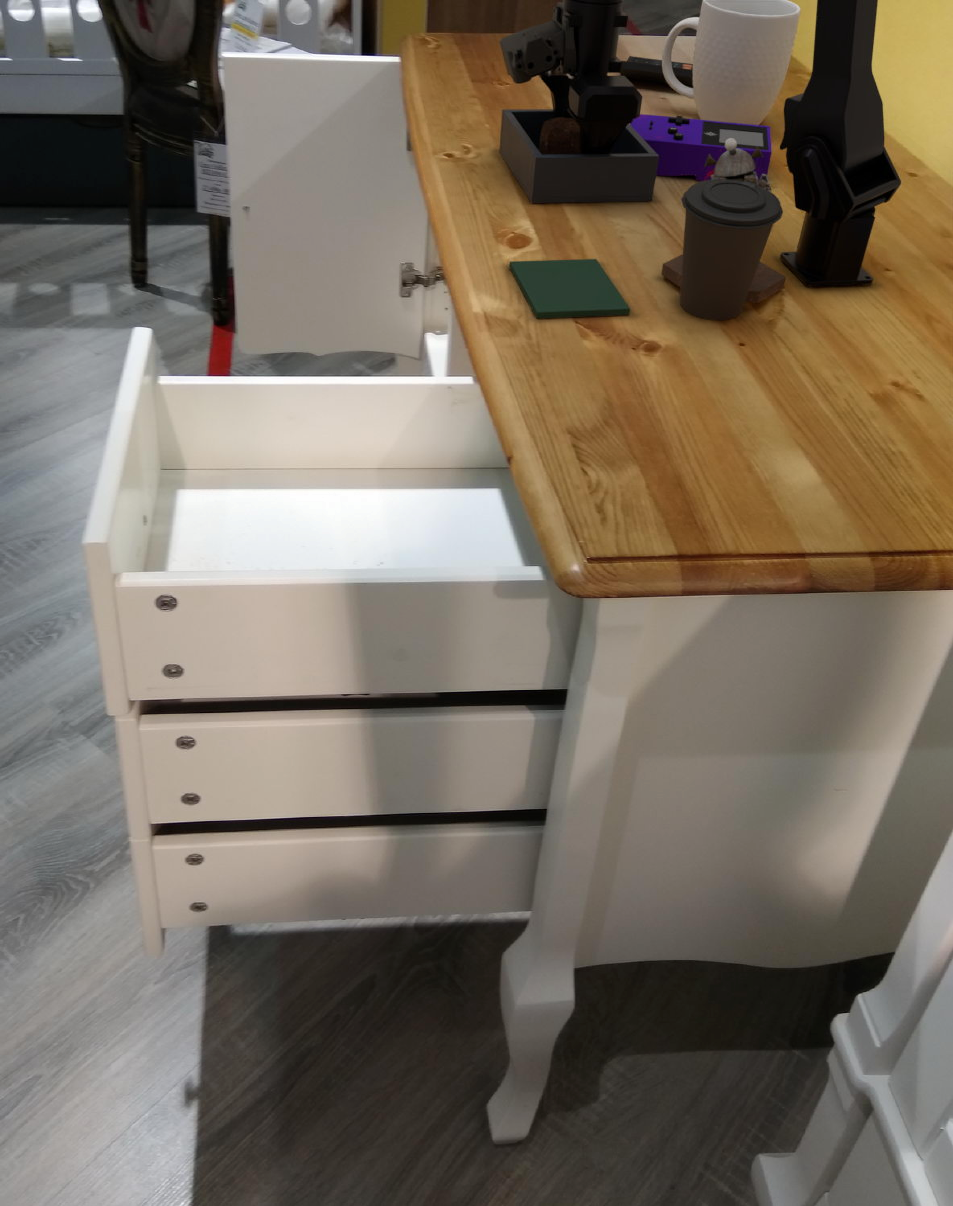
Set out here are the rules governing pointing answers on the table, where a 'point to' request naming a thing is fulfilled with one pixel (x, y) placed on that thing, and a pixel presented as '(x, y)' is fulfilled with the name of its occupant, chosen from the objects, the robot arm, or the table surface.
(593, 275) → the mat
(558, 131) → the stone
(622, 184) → the open box
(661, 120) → the handheld gaming console
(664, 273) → the robot figurine
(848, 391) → the table surface
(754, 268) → the coffee cup
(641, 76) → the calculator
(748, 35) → the mug
